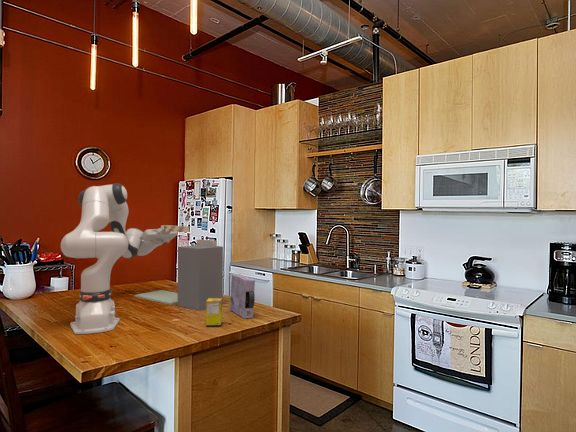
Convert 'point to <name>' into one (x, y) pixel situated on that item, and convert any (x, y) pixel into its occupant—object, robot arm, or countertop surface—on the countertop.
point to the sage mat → (160, 297)
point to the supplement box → (214, 312)
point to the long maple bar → (176, 228)
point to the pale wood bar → (207, 243)
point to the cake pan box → (242, 296)
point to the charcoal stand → (199, 275)
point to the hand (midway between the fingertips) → (167, 227)
